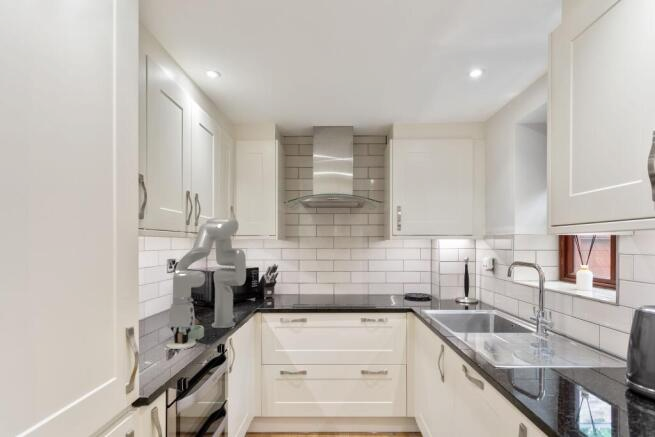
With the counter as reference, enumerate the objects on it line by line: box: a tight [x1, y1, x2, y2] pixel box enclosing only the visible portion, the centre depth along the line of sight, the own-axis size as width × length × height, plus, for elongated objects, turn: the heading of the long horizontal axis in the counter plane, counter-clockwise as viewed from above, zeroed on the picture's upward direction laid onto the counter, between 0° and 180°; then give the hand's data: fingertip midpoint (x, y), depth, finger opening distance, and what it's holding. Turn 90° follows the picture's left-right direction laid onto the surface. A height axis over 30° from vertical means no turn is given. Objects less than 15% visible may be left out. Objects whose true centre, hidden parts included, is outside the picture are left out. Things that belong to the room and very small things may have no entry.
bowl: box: [179, 324, 205, 341], centre depth 172 cm, size 11×11×5 cm
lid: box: [165, 332, 197, 349], centre depth 158 cm, size 12×12×5 cm
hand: (181, 342), depth 158 cm, fingers closed on lid, 3 cm apart
